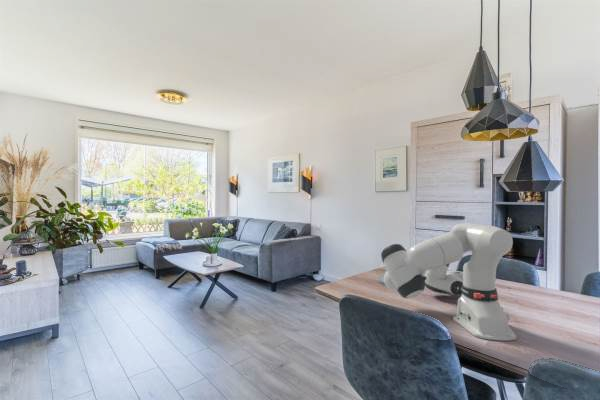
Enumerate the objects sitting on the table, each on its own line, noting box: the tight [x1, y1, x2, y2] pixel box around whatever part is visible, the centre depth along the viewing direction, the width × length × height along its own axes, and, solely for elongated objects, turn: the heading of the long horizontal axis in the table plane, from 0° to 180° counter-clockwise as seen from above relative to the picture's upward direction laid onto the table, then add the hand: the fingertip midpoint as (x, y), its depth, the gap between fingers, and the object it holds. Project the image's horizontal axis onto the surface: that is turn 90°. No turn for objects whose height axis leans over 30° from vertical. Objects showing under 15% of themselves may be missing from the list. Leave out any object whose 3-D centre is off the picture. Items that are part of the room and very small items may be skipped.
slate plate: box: [377, 273, 386, 286], centre depth 170 cm, size 22×22×2 cm
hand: (437, 271), depth 167 cm, fingers closed on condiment, 6 cm apart
